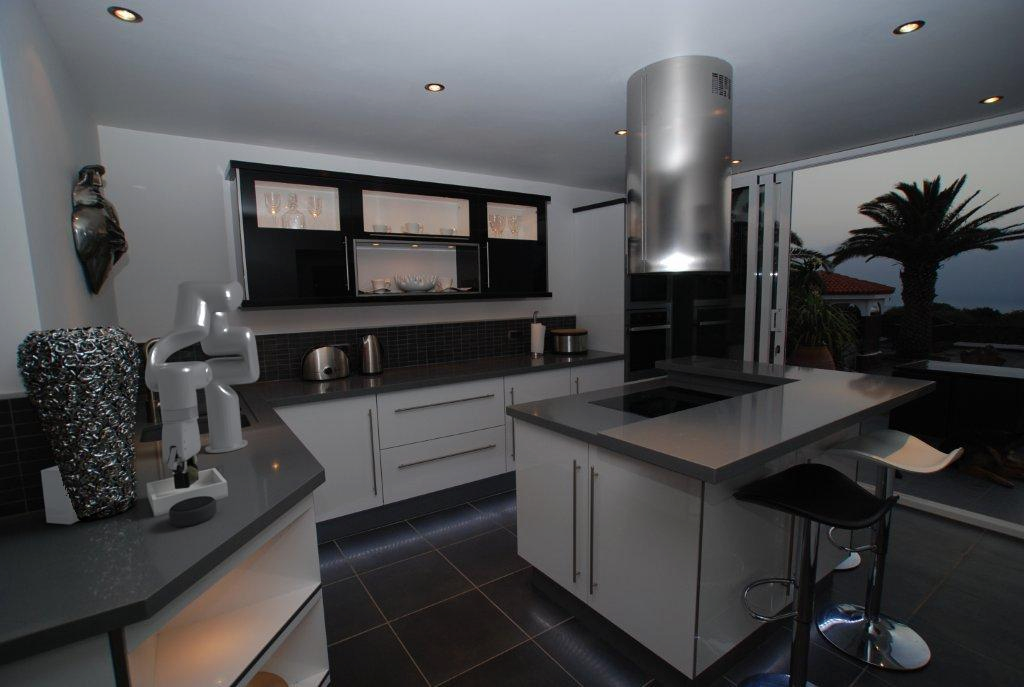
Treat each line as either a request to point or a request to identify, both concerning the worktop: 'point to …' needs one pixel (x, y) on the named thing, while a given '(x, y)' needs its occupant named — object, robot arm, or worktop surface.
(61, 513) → the grey tall block
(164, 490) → the bin
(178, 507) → the smart speaker
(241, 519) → the worktop surface
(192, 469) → the lime
